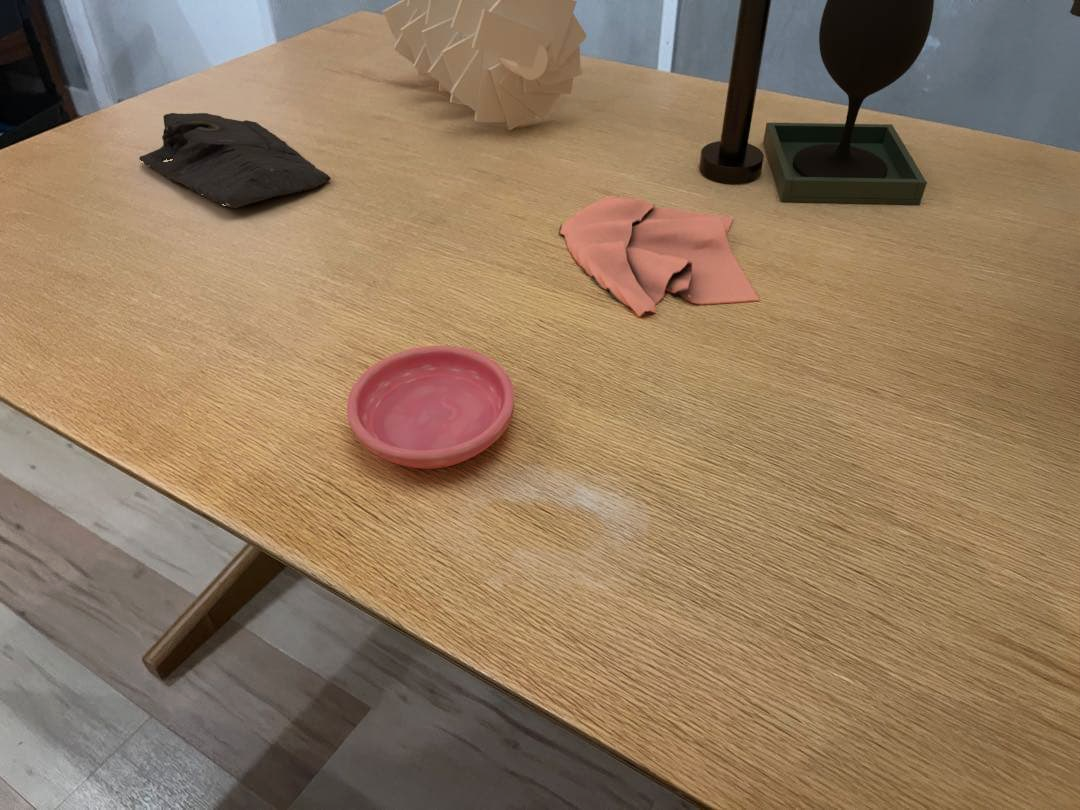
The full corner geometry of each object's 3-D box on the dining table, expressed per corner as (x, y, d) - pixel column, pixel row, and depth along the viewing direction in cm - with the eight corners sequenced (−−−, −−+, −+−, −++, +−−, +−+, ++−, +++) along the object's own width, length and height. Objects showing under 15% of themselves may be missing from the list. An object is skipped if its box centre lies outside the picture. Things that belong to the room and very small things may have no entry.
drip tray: (886, 145, 98) (892, 124, 97) (919, 204, 88) (927, 182, 86) (762, 143, 99) (766, 122, 97) (780, 202, 88) (785, 179, 87)
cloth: (595, 189, 91) (596, 169, 89) (793, 232, 84) (798, 211, 82) (510, 283, 77) (509, 261, 76) (737, 344, 70) (741, 321, 69)
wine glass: (906, 170, 92) (966, -24, 79) (848, 198, 88) (901, -3, 74) (831, 139, 98) (874, -46, 85) (773, 164, 94) (809, -28, 80)
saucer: (534, 464, 60) (534, 433, 58) (364, 502, 57) (357, 471, 55) (493, 361, 69) (491, 331, 67) (344, 391, 66) (337, 360, 64)
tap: (787, 157, 96) (858, -201, 73) (796, 185, 91) (877, -191, 68) (696, 156, 97) (740, -200, 74) (701, 183, 92) (749, -190, 69)
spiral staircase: (476, 97, 121) (567, 152, 104) (366, 65, 110) (448, 121, 93) (516, -35, 113) (621, 1, 97) (402, -84, 103) (498, -52, 86)
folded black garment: (214, 231, 85) (201, 189, 82) (134, 161, 98) (120, 122, 94) (342, 184, 93) (335, 144, 89) (253, 124, 105) (243, 87, 102)
